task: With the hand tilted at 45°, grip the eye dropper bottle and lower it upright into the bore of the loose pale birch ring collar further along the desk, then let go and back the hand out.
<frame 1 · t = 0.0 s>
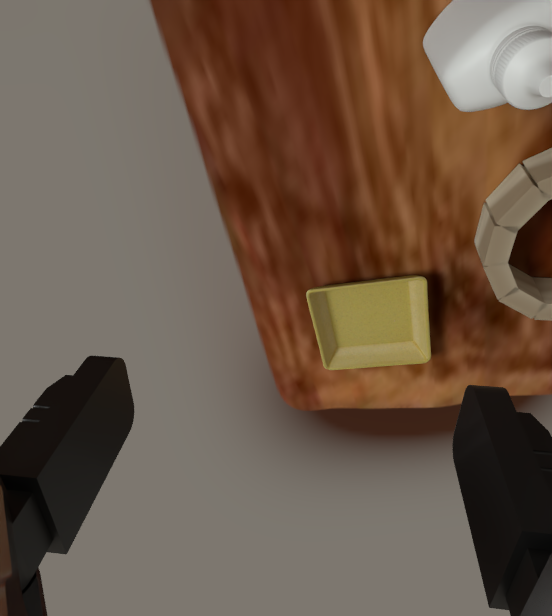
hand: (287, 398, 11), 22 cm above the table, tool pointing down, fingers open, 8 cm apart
eye dropper bottle: (477, 20, 25), on the table
yellow square tray: (369, 309, 39), on the table
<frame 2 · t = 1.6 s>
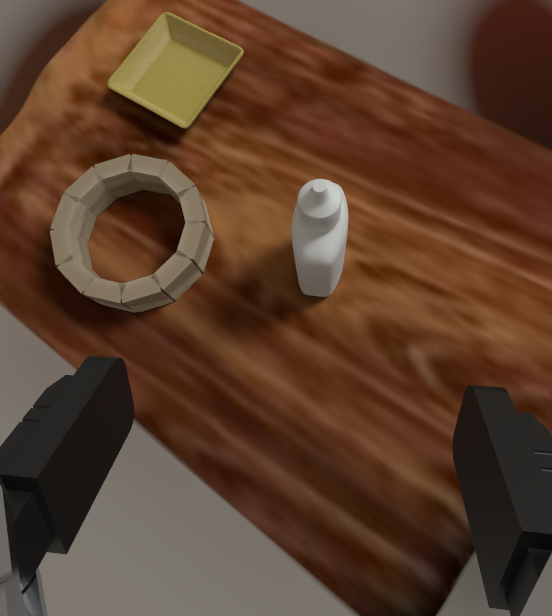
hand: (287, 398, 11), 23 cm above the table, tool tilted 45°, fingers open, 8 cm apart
eye dropper bottle: (320, 263, 37), on the table
yellow square tray: (182, 85, 42), on the table
birch ring collar: (141, 240, 38), on the table
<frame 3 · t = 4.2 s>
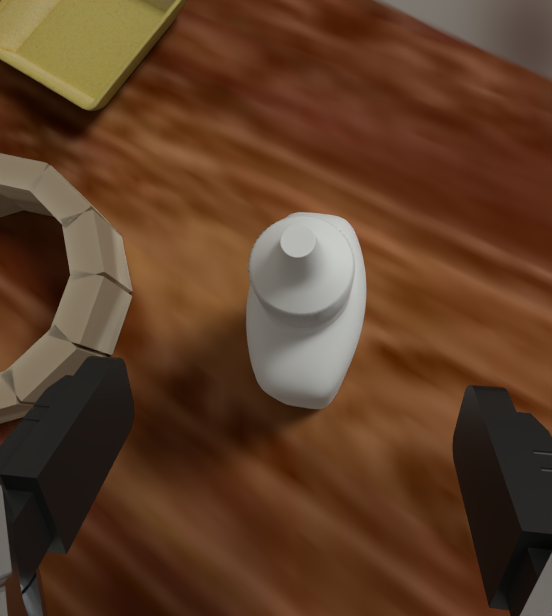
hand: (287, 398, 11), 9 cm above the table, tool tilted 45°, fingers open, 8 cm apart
eye dropper bottle: (311, 343, 21), on the table
yellow square tray: (98, 44, 27), on the table
birch ring collar: (12, 296, 23), on the table
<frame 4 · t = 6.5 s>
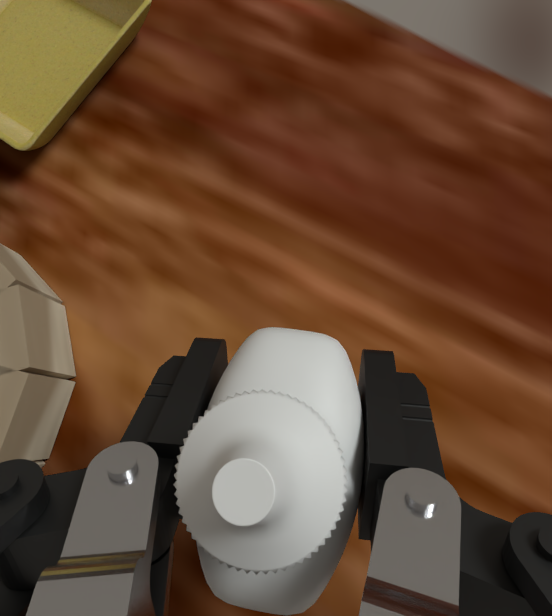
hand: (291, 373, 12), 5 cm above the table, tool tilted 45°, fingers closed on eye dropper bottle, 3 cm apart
eye dropper bottle: (296, 446, 17), on the table, touching gripper
yellow square tray: (45, 66, 22), on the table
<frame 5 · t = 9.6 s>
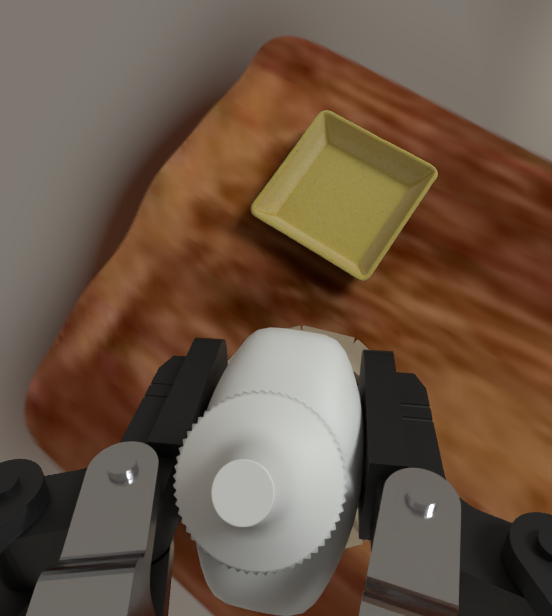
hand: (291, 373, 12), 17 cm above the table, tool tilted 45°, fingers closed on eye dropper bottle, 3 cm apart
eye dropper bottle: (296, 446, 17), point 11 cm above the table, touching gripper
yellow square tray: (341, 206, 32), on the table
birch ring collar: (305, 434, 28), on the table
when the fingers open (6 cm above the table, at t = 12.7 s): eye dropper bottle drops 1 cm, resting in birch ring collar.
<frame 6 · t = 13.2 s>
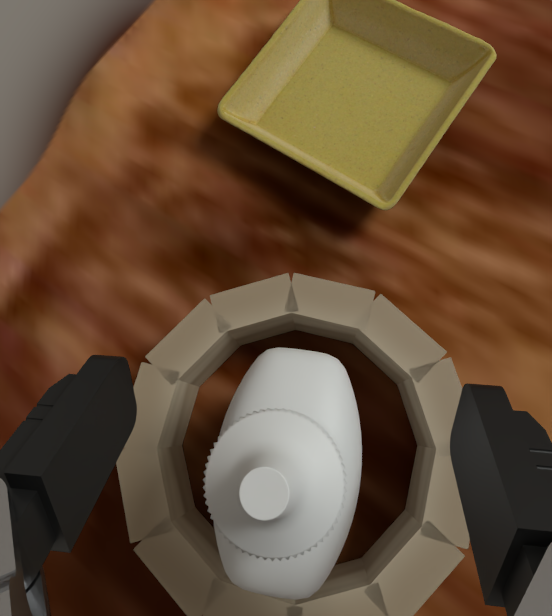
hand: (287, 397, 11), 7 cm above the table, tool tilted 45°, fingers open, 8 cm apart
eye dropper bottle: (299, 450, 18), resting in birch ring collar
yellow square tray: (351, 114, 22), on the table
birch ring collar: (297, 445, 18), on the table
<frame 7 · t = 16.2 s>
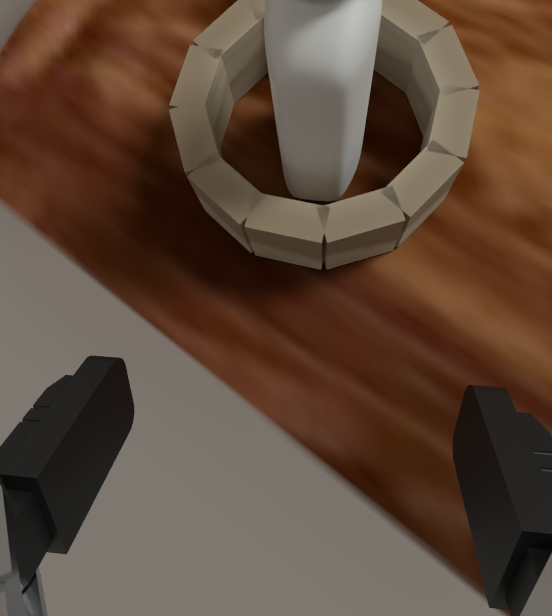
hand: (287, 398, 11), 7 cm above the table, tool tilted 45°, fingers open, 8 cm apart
eye dropper bottle: (322, 149, 21), resting in birch ring collar
birch ring collar: (320, 142, 21), on the table
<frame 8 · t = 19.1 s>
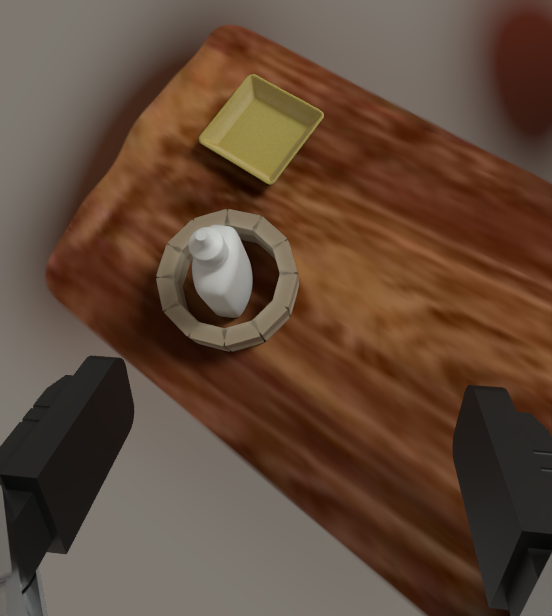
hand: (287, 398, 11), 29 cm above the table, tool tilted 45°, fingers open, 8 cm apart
eye dropper bottle: (233, 288, 43), resting in birch ring collar
yellow square tray: (263, 140, 46), on the table
birch ring collar: (232, 285, 42), on the table
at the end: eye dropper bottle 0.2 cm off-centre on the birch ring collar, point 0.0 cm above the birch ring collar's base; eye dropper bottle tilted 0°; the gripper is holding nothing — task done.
